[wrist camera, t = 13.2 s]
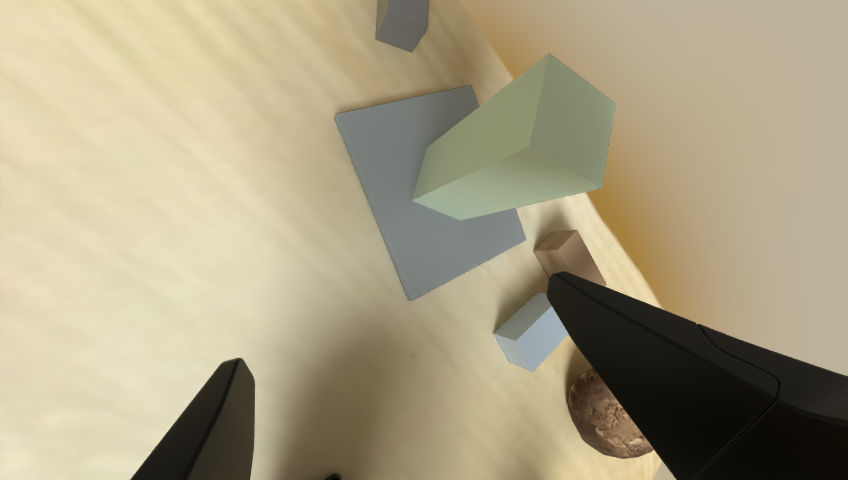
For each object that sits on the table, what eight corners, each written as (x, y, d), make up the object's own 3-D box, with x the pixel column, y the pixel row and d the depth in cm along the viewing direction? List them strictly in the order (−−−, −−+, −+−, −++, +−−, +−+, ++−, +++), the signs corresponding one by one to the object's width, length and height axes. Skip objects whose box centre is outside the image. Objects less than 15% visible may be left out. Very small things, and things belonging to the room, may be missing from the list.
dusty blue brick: (535, 292, 29) (562, 295, 26) (549, 318, 29) (577, 324, 26) (491, 332, 26) (515, 341, 24) (507, 360, 27) (532, 372, 24)
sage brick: (460, 220, 25) (601, 188, 14) (411, 200, 23) (528, 146, 12) (473, 170, 26) (615, 102, 15) (426, 147, 24) (549, 52, 13)
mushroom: (658, 367, 30) (703, 412, 24) (621, 433, 32) (654, 490, 26) (576, 336, 31) (600, 372, 25) (544, 401, 33) (559, 450, 27)
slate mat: (521, 240, 28) (526, 239, 28) (408, 300, 23) (411, 301, 23) (467, 88, 27) (471, 84, 26) (334, 118, 22) (335, 114, 21)
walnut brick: (577, 282, 31) (606, 284, 28) (561, 301, 30) (589, 305, 27) (550, 232, 30) (577, 229, 27) (531, 251, 29) (557, 250, 26)
